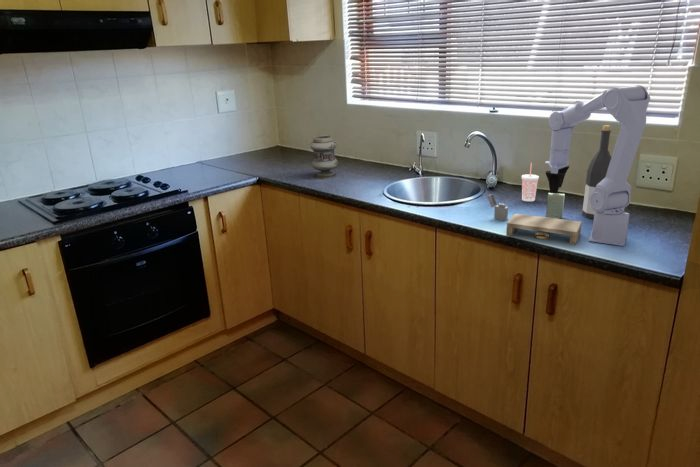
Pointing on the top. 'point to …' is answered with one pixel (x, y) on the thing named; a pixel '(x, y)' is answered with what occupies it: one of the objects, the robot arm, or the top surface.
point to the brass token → (542, 235)
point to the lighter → (498, 208)
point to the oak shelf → (545, 225)
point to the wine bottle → (597, 171)
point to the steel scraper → (555, 205)
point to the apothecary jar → (324, 156)
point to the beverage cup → (529, 186)
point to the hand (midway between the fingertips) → (555, 189)
